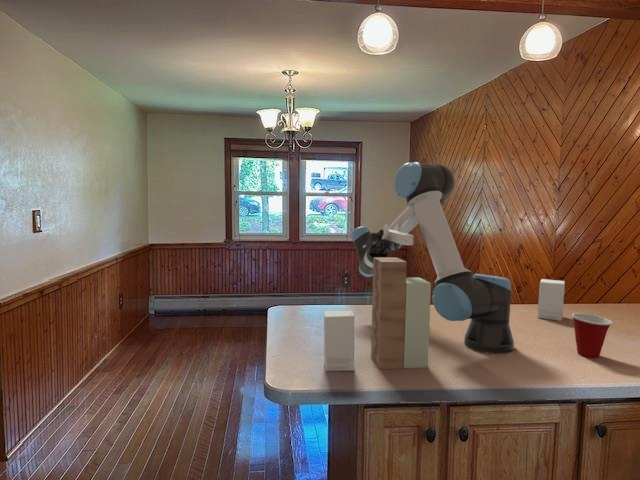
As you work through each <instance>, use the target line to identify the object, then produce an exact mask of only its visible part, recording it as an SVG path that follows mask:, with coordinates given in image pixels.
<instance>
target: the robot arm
mask: <svg viewBox="0 0 640 480" xmlns="http://www.w3.org/2000/svg"><path fill="white" fill-rule="evenodd" d="M393 182H394V190H395V193H396V194H397V196H398V197H400V198H401V199H402V198H403V199H405V200H406V203H407V206H406V208H405V209H404V210H403V211H402V212H401V213H400V214H399V215H398V216H397V217H396V218H395V219H394V220H393V222H392V223H391V224H390V225H389V224H388V223H385V224H384V225H383V227H382V229H380V230H379V231H374V232H373V231H370V229H369V227H368V226H365V225H364V226H363V225H361V226H359V227H356V228H354V229H353V230H352V231H351V234H350V235H351V239H352V243H353V245H354V248H355V251H356V254H357V258H358V261H359V265H358V271H359V273H360V275H362V276H364V277H367V278H371V277H373V258H388V255H389V253H390V252H392V251H395V252H398V251H399V250H400V248H401V247H402V246H403V245H401V244H398V243H395V242H392V241H389V240H386V239H384V238H385V236H386V235H387V233H388V231H389V229H391V230H395V231H399V232H403V233H407V234H410V232H411V231H412V230H414V228H415V227H416V226H417V225H419V226H420V229H421V233H422V236H423V238H424V241H425V244H426V247H427V250H428V253H429V256H430V259H431V261H432V265H433V267H434V270H435V273H436V278H435V281H434V285H435V287H434V289H433V291H432V295H431V298H432V300H431V301H432V305H433V307H434V309H435V311H436V312H437V313H438V315H439V316H440V317H442V318H443V319H444V320H446V321H451V322H463V321H467V320H470V321H469V324H468V326H467V329H466V332H465V334H464V340H463V344H464V346H465V347H467V348H469V349H472V350H474V351H478V352H482V353H488V354H489V353H490V354H506V353H507V354H508V353H510V352H513V351H514V349H515V341H514V337H513V333H512V330H511V327H510V315H511V313H510V312H511V298H512V291H513V290H512V282H511V280H510V279H509V278H507V277H502V276H498V275H489V274H483V273H474V274H473V273H472V271H471V270H469V269H468V268H466V267H465V266H464V263H463V261H462V258H461V255H460V253H459V249H458V247H457V244H456V241H455V239H454V236H453V234H452V231H451V228H450V225H449V223H448V220H447V217H446V214H445V212H444V209H443V206H442V205H443V204H444V203H446V202H447V200H448V199H449V198H450V197H451V195H452V194H453V192H454V190H455V185H456V180H455V176H454V173H453V172H452V170H451V169H450V168H449V167H447V166H446V165H444V164H439V163H422V162H421V163H420V162H419V161H414V162H407V163H404V164H402V165H401V166H399V168H398V170H397V172H396V174H395V177H394V181H393Z"/></svg>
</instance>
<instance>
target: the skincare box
mask: <svg viewBox="0 0 640 480" xmlns="http://www.w3.org/2000/svg"><path fill="white" fill-rule="evenodd" d="M323 334H324V335H323V342H324V343H323V347H324V348H323V350H324V351H323V355H324V357H323V358H324V362H323V363H324V371H325V372H354V371H355V314H354V312H353V310H324V312H323Z"/></svg>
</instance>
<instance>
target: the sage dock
mask: <svg viewBox="0 0 640 480" xmlns="http://www.w3.org/2000/svg"><path fill="white" fill-rule="evenodd" d="M431 288H432V283H431V282H429V281H427V280H426V279H424V278H421V277H406V298H405V329H404V360H403V368H402V369H415V368H417V369H418V368H422V369H423V368H429V350H430V349H429V347H430V346H429V345H430V320H431V319H430V318H431V317H430V316H431V296H432V295H431V290H432V289H431Z"/></svg>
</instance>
